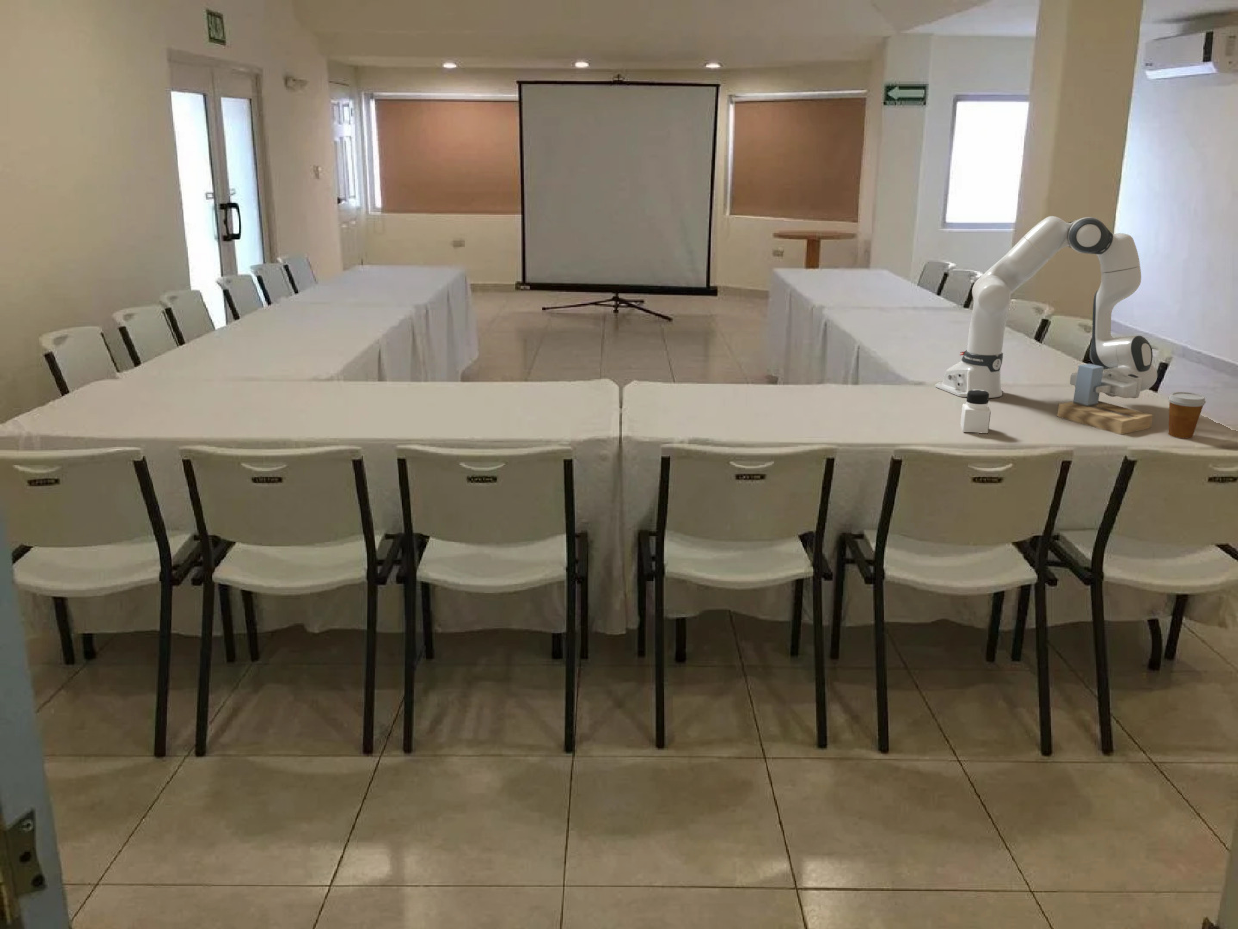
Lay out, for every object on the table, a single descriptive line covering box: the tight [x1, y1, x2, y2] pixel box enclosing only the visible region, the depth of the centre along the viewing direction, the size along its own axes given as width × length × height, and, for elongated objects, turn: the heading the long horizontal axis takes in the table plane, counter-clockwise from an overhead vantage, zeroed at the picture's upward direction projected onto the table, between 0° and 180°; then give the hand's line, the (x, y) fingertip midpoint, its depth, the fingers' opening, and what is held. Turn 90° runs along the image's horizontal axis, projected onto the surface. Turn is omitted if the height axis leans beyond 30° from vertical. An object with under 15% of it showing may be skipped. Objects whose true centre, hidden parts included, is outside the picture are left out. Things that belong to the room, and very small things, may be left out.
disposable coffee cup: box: [1167, 391, 1207, 439], centre depth 293 cm, size 10×10×12 cm
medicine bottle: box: [959, 390, 991, 434], centre depth 298 cm, size 7×7×12 cm
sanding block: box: [1072, 363, 1105, 407], centre depth 311 cm, size 5×5×12 cm
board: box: [1056, 400, 1154, 435], centre depth 307 cm, size 22×14×4 cm, turn 29°
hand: (1086, 387), depth 310 cm, fingers open, 5 cm apart
